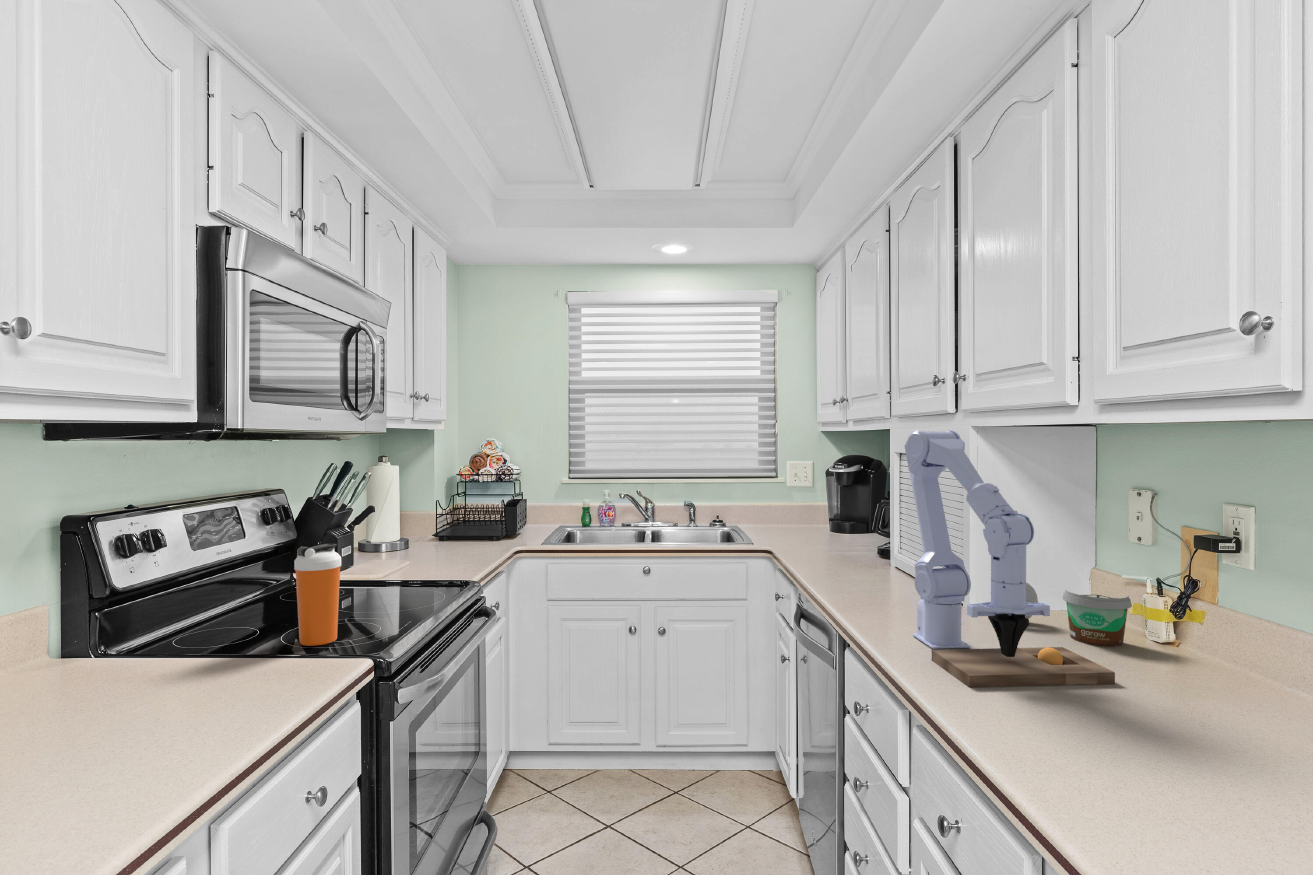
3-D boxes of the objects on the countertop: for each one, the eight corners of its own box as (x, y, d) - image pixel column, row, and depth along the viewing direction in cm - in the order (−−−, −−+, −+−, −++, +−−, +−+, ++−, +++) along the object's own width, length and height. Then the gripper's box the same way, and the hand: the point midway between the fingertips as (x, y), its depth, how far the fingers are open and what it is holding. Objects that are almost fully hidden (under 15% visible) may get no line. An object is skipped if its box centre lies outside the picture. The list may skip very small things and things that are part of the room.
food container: (1063, 643, 141) (1064, 594, 141) (1062, 635, 147) (1062, 588, 147) (1136, 652, 135) (1136, 601, 135) (1131, 643, 141) (1131, 595, 141)
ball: (1032, 665, 127) (1034, 643, 128) (1053, 669, 127) (1056, 648, 128) (1044, 669, 123) (1047, 647, 124) (1066, 674, 123) (1068, 651, 124)
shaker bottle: (350, 638, 145) (350, 544, 145) (310, 649, 138) (309, 550, 137) (326, 632, 150) (325, 541, 150) (285, 642, 142) (285, 547, 142)
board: (931, 659, 131) (931, 649, 131) (1062, 657, 132) (1062, 646, 132) (969, 687, 117) (969, 675, 117) (1114, 683, 118) (1114, 672, 118)
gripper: (981, 586, 120) (981, 663, 120) (1060, 585, 121) (1060, 661, 121) (961, 577, 127) (960, 650, 127) (1036, 576, 128) (1036, 648, 128)
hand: (1008, 655), depth 124 cm, fingers closed
